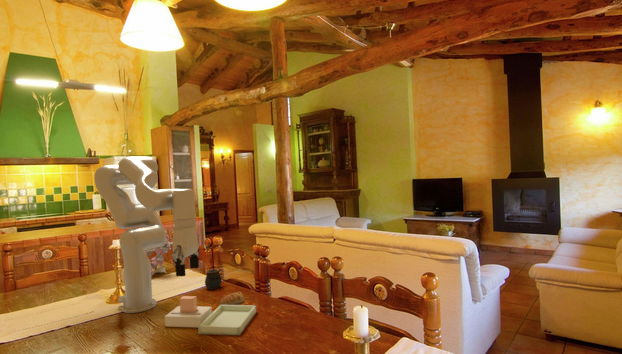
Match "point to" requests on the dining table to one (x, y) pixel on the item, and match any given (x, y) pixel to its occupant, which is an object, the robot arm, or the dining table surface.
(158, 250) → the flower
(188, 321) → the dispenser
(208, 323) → the tray
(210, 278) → the mate gourd
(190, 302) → the tan flat block
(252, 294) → the dining table surface
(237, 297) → the pastry
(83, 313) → the dining table surface
